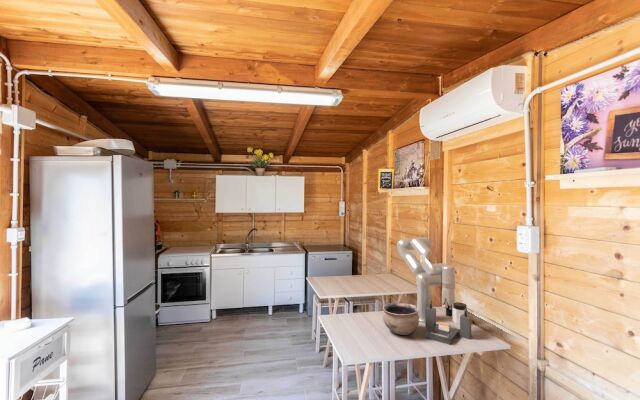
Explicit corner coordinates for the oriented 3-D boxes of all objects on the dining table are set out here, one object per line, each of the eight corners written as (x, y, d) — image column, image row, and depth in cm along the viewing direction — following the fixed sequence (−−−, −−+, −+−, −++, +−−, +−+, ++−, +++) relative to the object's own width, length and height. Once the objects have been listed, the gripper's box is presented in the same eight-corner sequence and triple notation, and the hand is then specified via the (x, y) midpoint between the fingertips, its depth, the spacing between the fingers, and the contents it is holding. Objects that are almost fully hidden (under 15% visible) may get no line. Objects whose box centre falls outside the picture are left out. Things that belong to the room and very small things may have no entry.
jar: (452, 323, 209) (452, 305, 209) (452, 319, 216) (452, 301, 216) (467, 325, 205) (467, 307, 205) (466, 321, 213) (467, 303, 213)
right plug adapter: (459, 336, 188) (460, 307, 188) (462, 334, 192) (462, 305, 192) (468, 339, 185) (469, 309, 185) (471, 336, 189) (471, 307, 189)
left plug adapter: (425, 327, 202) (425, 300, 202) (428, 325, 206) (428, 298, 206) (433, 329, 199) (433, 302, 199) (436, 327, 203) (436, 300, 203)
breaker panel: (425, 337, 187) (425, 332, 187) (436, 328, 201) (436, 323, 201) (450, 344, 178) (450, 339, 178) (460, 334, 192) (460, 329, 192)
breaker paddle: (438, 329, 192) (438, 323, 192) (440, 327, 194) (440, 322, 194) (448, 331, 188) (448, 325, 188) (450, 330, 190) (450, 324, 190)
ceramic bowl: (421, 341, 182) (421, 315, 182) (382, 338, 186) (382, 312, 186) (417, 326, 204) (417, 303, 204) (382, 323, 208) (382, 300, 208)
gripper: (446, 282, 204) (447, 311, 204) (438, 287, 193) (438, 317, 192) (458, 284, 199) (459, 313, 199) (450, 289, 188) (451, 320, 187)
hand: (449, 315), depth 196 cm, fingers closed
